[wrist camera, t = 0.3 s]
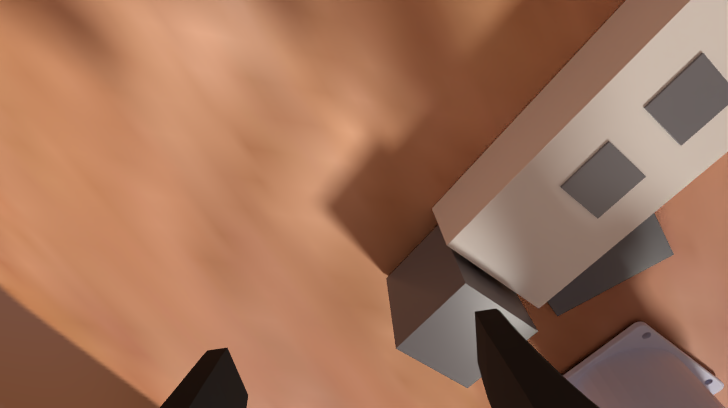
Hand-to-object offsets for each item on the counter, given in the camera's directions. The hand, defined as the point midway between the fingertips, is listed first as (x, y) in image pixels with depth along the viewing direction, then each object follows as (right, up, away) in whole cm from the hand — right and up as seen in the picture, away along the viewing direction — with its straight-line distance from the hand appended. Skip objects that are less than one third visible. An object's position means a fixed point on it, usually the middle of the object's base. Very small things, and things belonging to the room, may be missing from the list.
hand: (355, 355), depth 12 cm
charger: (+5, +1, +10) cm, 11 cm away
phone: (+13, +1, +11) cm, 18 cm away
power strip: (+12, +9, +7) cm, 16 cm away
